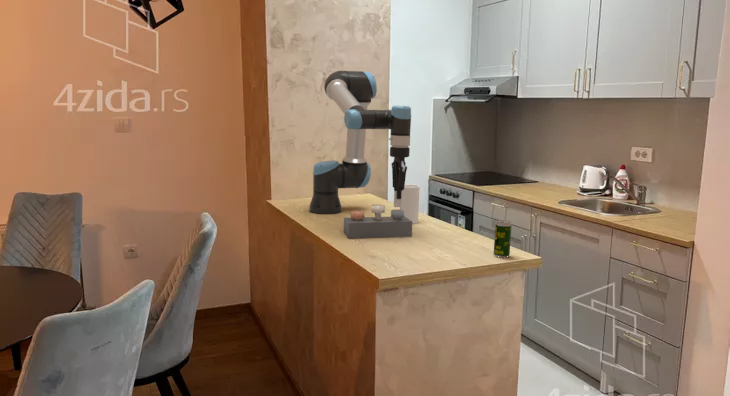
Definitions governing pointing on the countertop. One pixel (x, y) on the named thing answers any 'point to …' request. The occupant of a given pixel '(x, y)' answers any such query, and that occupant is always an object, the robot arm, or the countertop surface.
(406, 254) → the countertop surface
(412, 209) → the cup
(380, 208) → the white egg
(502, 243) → the beer can
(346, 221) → the key panel
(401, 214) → the pale blue knob
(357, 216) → the terracotta key
